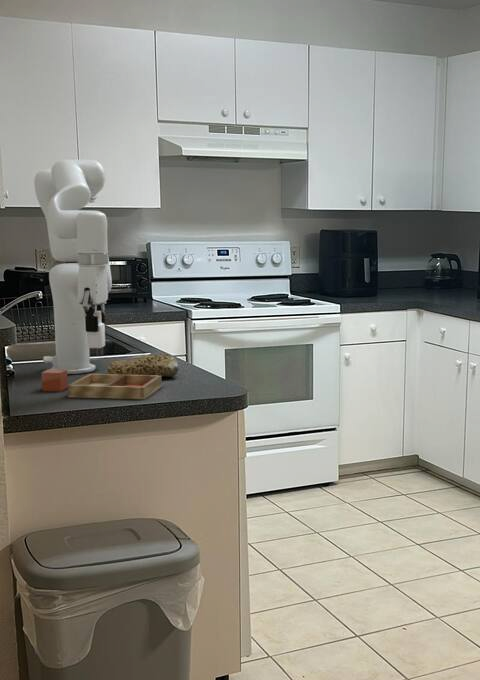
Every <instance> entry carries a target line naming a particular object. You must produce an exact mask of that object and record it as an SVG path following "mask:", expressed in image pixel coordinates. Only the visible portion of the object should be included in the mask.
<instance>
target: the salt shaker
mask: <svg viewBox="0 0 480 680" xmlns="http://www.w3.org/2000/svg"><path fill="white" fill-rule="evenodd" d="M96 316H98V332H87V347H88V348H89V349H102V348H104V347H105V346H106V332H105V331H106V323H105V324H104V323H102V322H101V311H97V315H96Z"/></svg>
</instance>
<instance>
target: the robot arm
mask: <svg viewBox="0 0 480 680" xmlns="http://www.w3.org/2000/svg"><path fill="white" fill-rule="evenodd" d="M105 182H106V172H105V169H104V167H103V165H102V164H101V163H100V162H99V161H97V160H95V159H75V158H72V159H71V158H70V159H69V158H65V159H60V160H57V161H56V162H54V164H53V165H52V166H51V168H46V169H42V170H39V171H38V172H36V174H35V176H34V191H35V197H36V200H37V202H38V204H39V207H40V209H41V210H42V213H43V214H44V217H45V221H46V228H47V234H48V243H49V249H50V253H51V256H52V258H53V259H54V260H55V261H58V262H63V263H59V264H55V266H53V267H52V268H50V270H49V273H48V281H49V286H50V291H51V295H52V303H53V318H54V319H53V320H54V321H53V322H54V342H55V355H53V356H48V355H47V356H43V357H42V363H44V364H51V365H52V366H51V367H50V369H66V370H67V375H78V374H79V375H80V374H86V373H91V372H94V371H95V370H96V365H95V364H93V363H91V356H90V348H88V347H87V332H98V316H96V315H97V311H101V322H102V323H104V324H105V325H106V315H105V313H106V308H105V307H106V303H107V301H108V299H109V293H110V292H111V290H112V287H113V279H112V278H113V277H112V270H111V264H110V258H109V250H108V249H109V248H108V247H109V246H108V229H109V227H108V226H109V225H108V218H107V215H106V213H104V212H102V211H100V210H86V209H85V210H83V208H85V207H86V206H87V205H88V204H89V202H90V201H91V199H92V198H94V197H96V196H97V195H98V194H99V193H100V192H101V191H102V190H103V189H104V187H105V184H106V183H105ZM64 262H65V263H64Z"/></svg>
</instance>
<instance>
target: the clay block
mask: <svg viewBox="0 0 480 680" xmlns="http://www.w3.org/2000/svg"><path fill="white" fill-rule="evenodd" d="M68 383H69V381H68V374H67V370H66V369H51V368H48V369H46V370H44V371H41V391H42V392H63V391H64V390H67V389H68V385H69V384H68Z"/></svg>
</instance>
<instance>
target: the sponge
mask: <svg viewBox="0 0 480 680" xmlns="http://www.w3.org/2000/svg"><path fill="white" fill-rule="evenodd" d="M179 371H180V370H179V361H177V359H176V358H175V357H174V356H173V355H170V354H169V355H168V354H162V353H160V354H159V353H156V354H147V355H146V354H145V355H142V356H139V357H134V358H129V359H117V360H115V361H112V362H110V363H109V365H108V368H107V374H122V375H161V377H173V376H176V375H177V374H178V372H179Z"/></svg>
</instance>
